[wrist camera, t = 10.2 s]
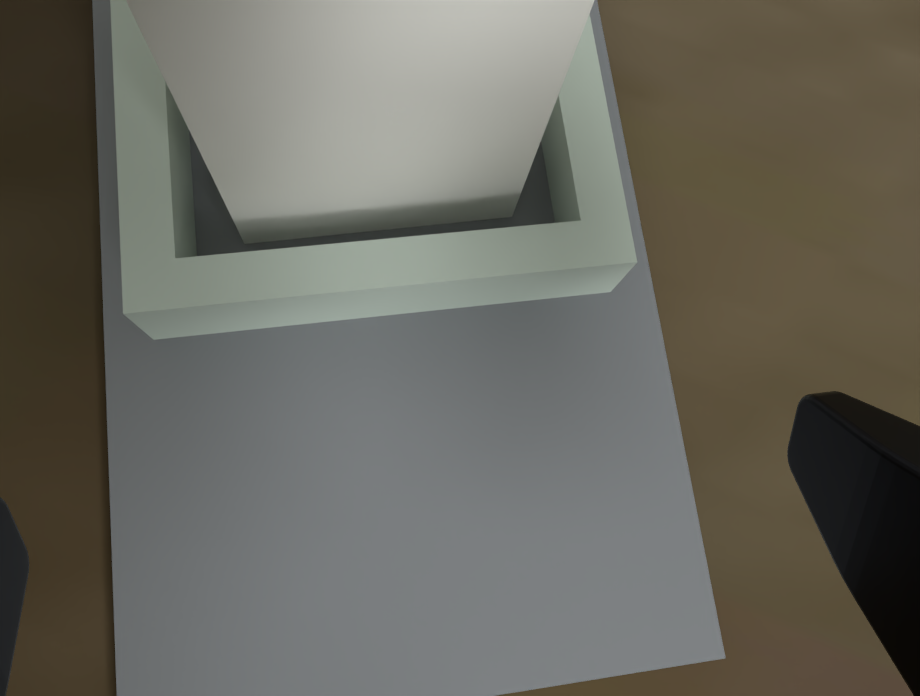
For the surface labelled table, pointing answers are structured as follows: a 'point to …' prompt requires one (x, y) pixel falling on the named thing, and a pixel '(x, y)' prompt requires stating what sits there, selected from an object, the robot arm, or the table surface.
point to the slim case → (363, 105)
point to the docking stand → (388, 426)
